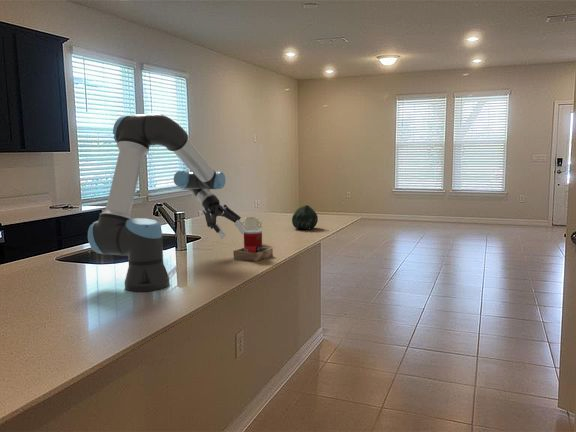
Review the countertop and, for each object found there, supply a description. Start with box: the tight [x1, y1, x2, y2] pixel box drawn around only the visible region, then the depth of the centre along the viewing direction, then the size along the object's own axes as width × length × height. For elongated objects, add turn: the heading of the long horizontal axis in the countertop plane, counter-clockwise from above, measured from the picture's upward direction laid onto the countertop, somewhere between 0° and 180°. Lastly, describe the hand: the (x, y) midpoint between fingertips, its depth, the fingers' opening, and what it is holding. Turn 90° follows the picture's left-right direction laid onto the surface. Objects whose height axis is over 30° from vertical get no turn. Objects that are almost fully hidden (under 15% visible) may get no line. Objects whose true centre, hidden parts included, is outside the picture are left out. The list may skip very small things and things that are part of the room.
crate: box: [232, 246, 274, 263], centre depth 216 cm, size 12×12×4 cm
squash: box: [291, 204, 319, 230], centre depth 291 cm, size 14×15×15 cm
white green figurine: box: [240, 216, 263, 230], centre depth 249 cm, size 11×7×13 cm, turn 73°
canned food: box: [243, 229, 263, 253], centre depth 216 cm, size 8×8×11 cm
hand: (234, 234), depth 221 cm, fingers open, 13 cm apart
